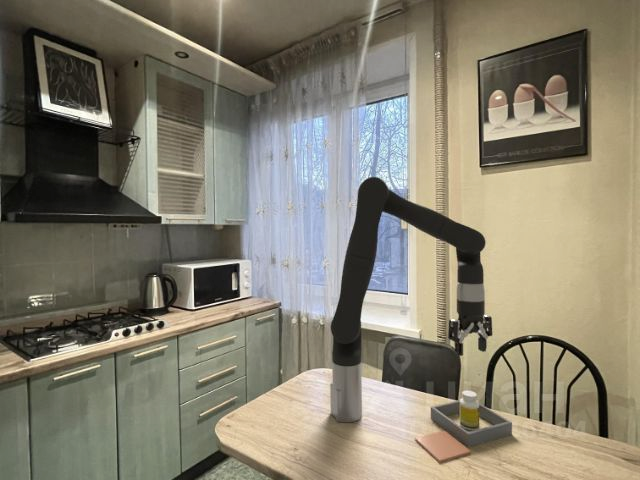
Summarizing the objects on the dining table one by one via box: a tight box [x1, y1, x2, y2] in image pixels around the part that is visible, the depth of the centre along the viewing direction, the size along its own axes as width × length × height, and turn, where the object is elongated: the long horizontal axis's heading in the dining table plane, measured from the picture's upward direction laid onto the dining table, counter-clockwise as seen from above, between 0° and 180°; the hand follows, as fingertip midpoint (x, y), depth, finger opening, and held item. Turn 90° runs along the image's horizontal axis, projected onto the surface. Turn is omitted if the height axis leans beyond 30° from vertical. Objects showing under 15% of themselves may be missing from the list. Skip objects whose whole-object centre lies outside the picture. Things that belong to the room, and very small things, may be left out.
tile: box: [415, 429, 472, 463], centre depth 92 cm, size 10×10×1 cm
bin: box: [430, 399, 513, 448], centre depth 102 cm, size 16×16×4 cm
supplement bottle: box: [459, 390, 480, 431], centre depth 102 cm, size 5×5×10 cm
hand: (470, 352), depth 101 cm, fingers open, 8 cm apart
